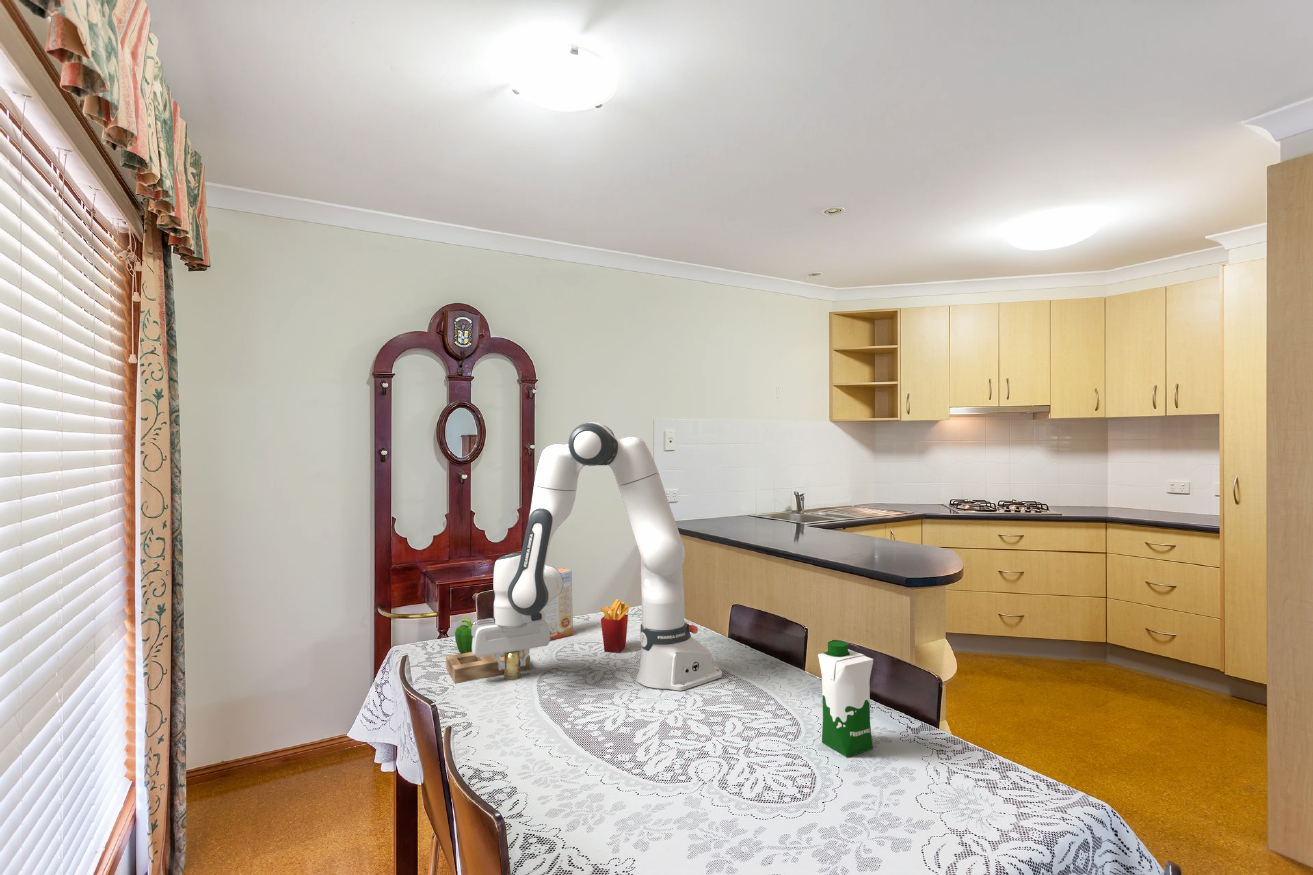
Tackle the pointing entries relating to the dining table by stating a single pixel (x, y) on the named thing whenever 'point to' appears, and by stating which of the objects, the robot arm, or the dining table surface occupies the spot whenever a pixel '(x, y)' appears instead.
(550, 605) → the cracker box
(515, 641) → the robot arm
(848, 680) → the milk carton
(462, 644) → the bell pepper
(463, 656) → the jig
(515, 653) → the bushing
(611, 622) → the french fries
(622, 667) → the dining table surface
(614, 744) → the dining table surface
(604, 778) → the dining table surface
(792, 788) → the dining table surface
